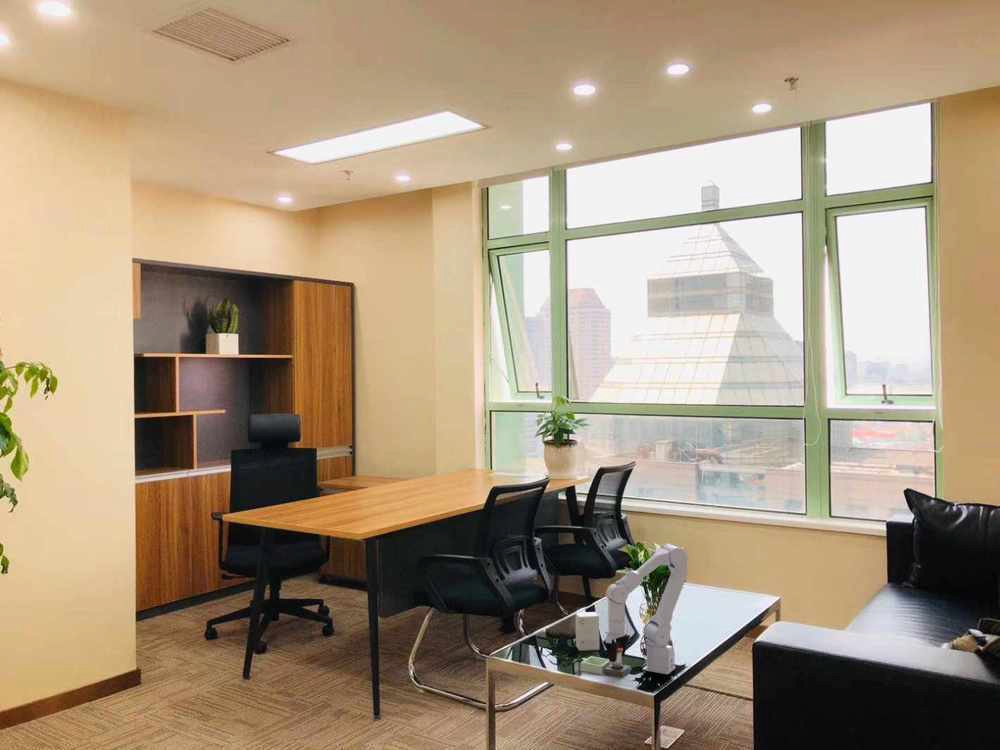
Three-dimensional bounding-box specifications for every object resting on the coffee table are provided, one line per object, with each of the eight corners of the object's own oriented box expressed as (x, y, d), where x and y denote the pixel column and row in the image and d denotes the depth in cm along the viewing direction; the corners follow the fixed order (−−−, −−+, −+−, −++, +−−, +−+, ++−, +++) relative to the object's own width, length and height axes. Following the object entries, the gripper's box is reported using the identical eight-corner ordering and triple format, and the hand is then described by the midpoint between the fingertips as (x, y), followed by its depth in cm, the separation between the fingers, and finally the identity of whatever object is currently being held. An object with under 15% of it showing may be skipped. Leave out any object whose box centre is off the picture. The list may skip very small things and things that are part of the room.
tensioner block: (630, 671, 288) (630, 666, 288) (622, 677, 282) (622, 671, 282) (612, 668, 292) (612, 662, 292) (603, 674, 286) (603, 668, 286)
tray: (611, 667, 292) (611, 659, 292) (601, 674, 286) (601, 666, 286) (591, 664, 297) (590, 656, 297) (581, 670, 290) (581, 662, 290)
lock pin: (624, 672, 287) (624, 646, 288) (620, 675, 284) (619, 649, 284) (614, 670, 290) (613, 644, 290) (609, 673, 286) (609, 647, 286)
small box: (596, 645, 320) (595, 611, 320) (599, 650, 313) (599, 615, 314) (575, 645, 319) (575, 612, 319) (578, 650, 312) (578, 616, 313)
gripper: (614, 613, 296) (614, 651, 295) (597, 622, 283) (597, 662, 283) (632, 616, 292) (632, 654, 292) (616, 625, 280) (616, 665, 279)
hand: (616, 658), depth 287 cm, fingers open, 7 cm apart
